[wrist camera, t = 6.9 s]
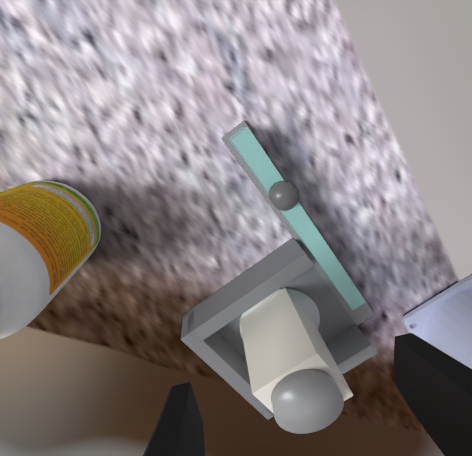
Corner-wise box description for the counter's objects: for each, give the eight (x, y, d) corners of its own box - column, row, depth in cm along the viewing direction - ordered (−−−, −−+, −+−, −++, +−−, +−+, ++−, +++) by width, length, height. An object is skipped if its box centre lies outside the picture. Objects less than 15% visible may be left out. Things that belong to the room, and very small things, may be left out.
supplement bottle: (31, 159, 16) (-209, 208, 7) (119, 212, 17) (23, 309, 8) (-8, 234, 17) (-254, 361, 8) (78, 277, 18) (-45, 425, 9)
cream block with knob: (314, 323, 21) (360, 409, 15) (270, 351, 22) (297, 446, 15) (285, 287, 20) (322, 365, 13) (239, 319, 20) (254, 408, 14)
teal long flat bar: (349, 279, 20) (375, 308, 17) (333, 290, 20) (356, 320, 17) (245, 124, 16) (254, 124, 13) (225, 140, 16) (229, 143, 13)
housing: (376, 318, 22) (397, 341, 20) (261, 390, 24) (267, 419, 21) (243, 120, 16) (250, 119, 14) (100, 233, 18) (84, 250, 15)
